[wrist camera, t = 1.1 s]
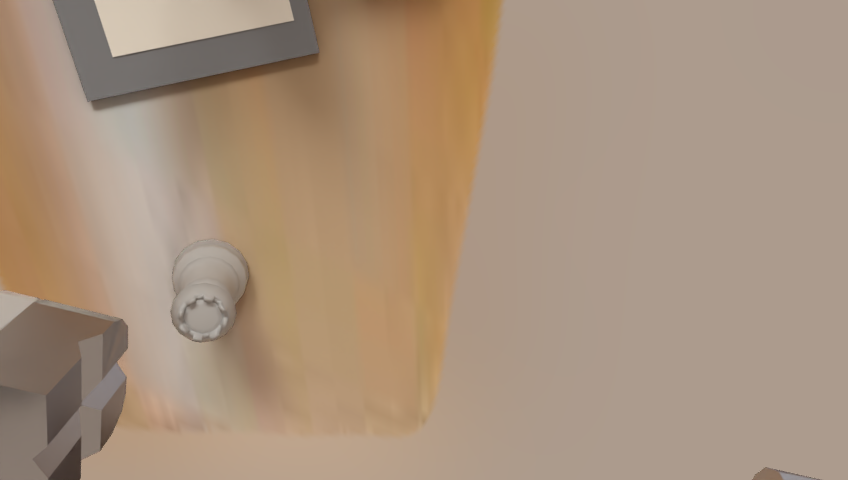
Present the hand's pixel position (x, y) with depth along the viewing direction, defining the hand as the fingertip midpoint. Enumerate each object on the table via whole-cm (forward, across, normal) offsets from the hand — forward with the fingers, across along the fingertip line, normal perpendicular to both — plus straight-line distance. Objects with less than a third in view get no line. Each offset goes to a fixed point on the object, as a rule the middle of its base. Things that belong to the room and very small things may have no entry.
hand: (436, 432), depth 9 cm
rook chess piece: (+30, +12, +17) cm, 36 cm away
